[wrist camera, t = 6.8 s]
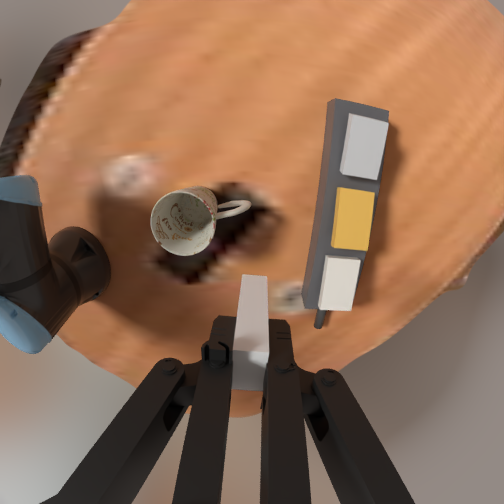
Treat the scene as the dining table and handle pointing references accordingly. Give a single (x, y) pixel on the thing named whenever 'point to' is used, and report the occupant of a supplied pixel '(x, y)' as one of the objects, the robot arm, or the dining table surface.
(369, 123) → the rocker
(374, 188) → the power strip
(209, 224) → the mug
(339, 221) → the block
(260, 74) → the dining table surface
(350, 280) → the block
